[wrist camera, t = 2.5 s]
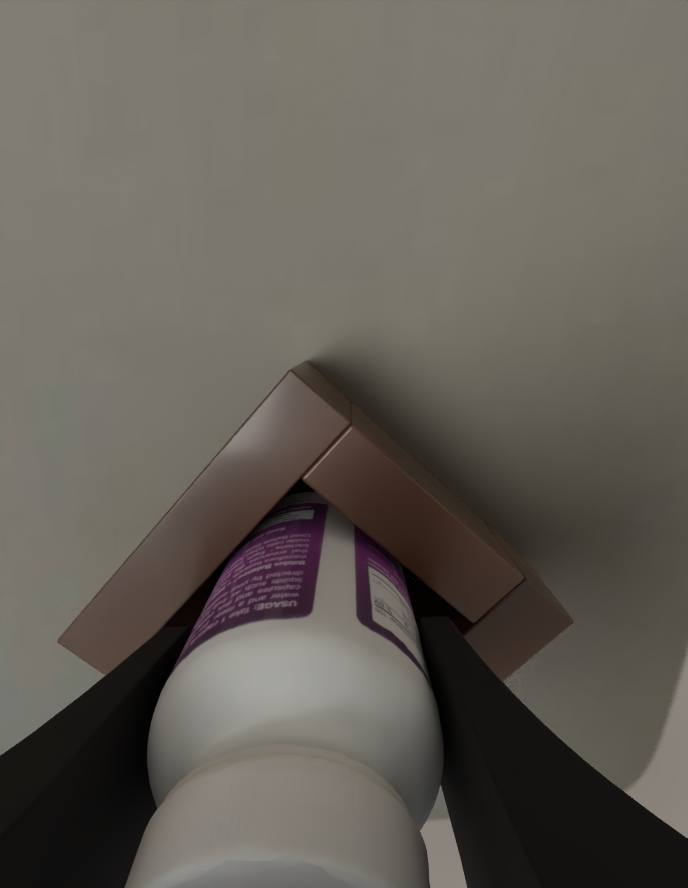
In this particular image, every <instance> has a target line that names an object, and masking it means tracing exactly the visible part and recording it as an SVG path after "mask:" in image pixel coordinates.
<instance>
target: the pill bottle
mask: <svg viewBox="0 0 688 888" xmlns="http://www.w3.org/2000/svg"><path fill="white" fill-rule="evenodd" d="M443 761H444V745H443V734H442V729H441V723H440V717H439V709H438V705H437V702H436V698H435V695H434V693H433V689H432V685H431V681H430V677H429V673H428V669H427V665H426V661H425V658H424V654H423V649H422V645H421V641H420V637H419V632H418V628H417V625H416V621H415V617H414V613H413V609H412V606H411V602H410V598H409V594H408V590H407V586H406V582H405V577H404V573H403V569H402V565H401V563H400V562H399V561H398V560H397V559H395V558H394V557H393V556H392V555H391V554H389V553H388V552H387V551H386V550H385V549H383V548H382V547H381V546H380V545H379V544H378V543H376V542H375V541H374V540H373V539H372V538H370V537H369V536H368V535H367V534H366V533H364V532H363V531H362V530H361V529H360V528H359V527H357V526H356V525H355V524H354V523H353V522H351V521H350V520H349V519H348V518H347V517H345V516H344V515H343V514H342V513H341V512H340V511H338V510H337V509H336V508H335V507H334V506H332V505H331V504H330V503H329V502H328V501H326V500H325V499H324V498H323V497H322V496H321V495H319V494H318V493H317V492H316V491H313V492H303V493H296V494H292V495H289V496H286V497H283V498H282V499H281V500H280V501H279V502H278V503H277V504H276V505H275V506H274V507H273V508H272V509H271V511H270V512H269V513H268V514H267V515H266V516H265V517H264V518H263V519H262V520H261V521H260V522H259V524H258V525H257V526H256V527H255V528H254V529H253V530H252V531H251V532H250V533H249V534H248V535H247V537H246V538H245V539H244V540H243V541H242V542H241V543H240V544H239V545H238V546H237V547H236V548H235V550H234V551H233V553H232V555H231V556H230V558H229V560H228V563H227V564H226V566H225V568H224V570H223V572H222V574H221V576H220V578H219V580H218V582H217V584H216V586H215V588H214V589H213V591H212V593H211V595H210V597H209V599H208V601H207V603H206V605H205V607H204V609H203V611H202V613H201V615H200V617H199V618H198V620H197V622H196V624H195V626H194V628H193V630H192V632H191V634H190V636H189V638H188V640H187V642H186V644H185V646H184V648H183V650H182V652H181V655H180V657H179V659H178V660H177V662H176V664H175V666H174V668H173V670H172V672H171V674H170V676H169V677H168V679H167V681H166V683H165V685H164V687H163V689H162V691H161V694H160V697H159V700H158V702H157V705H156V708H155V711H154V714H153V717H152V721H151V724H150V730H149V736H148V745H147V767H148V775H149V782H150V787H151V790H152V794H153V797H154V800H155V803H156V806H157V810H156V811H155V813H154V815H153V816H152V818H151V819H150V821H149V823H148V825H147V827H146V829H145V831H144V834H143V837H142V840H141V842H140V845H139V848H138V851H137V854H136V857H135V859H134V862H133V865H132V868H131V871H130V874H129V877H128V879H127V882H126V885H125V888H430V883H429V868H428V867H429V866H428V857H427V850H426V846H425V843H424V840H423V838H422V835H421V832H420V830H421V829H422V827H423V825H424V824H425V822H426V820H427V818H428V816H429V814H430V812H431V810H432V808H433V806H434V803H435V800H436V798H437V795H438V791H439V788H440V784H441V778H442V772H443Z"/></svg>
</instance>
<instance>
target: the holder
mask: <svg viewBox="0 0 688 888" xmlns="http://www.w3.org/2000/svg"><path fill="white" fill-rule="evenodd" d="M301 477H302V480H303V481H304V482H305V483H306V484H307V485H309V486H310V487H311V488H312V489H313V490H315V491H316V492H317V493H318V494H319V495H321V496H322V497H323V498H324V499H325V500H326V501H328V502H329V503H330V504H331V505H332V506H334V507H335V508H336V509H337V510H338V511H340V512H341V513H342V514H343V515H344V516H345V517H347V518H348V519H349V520H350V521H351V522H353V523H354V524H355V525H356V526H357V527H359V528H360V529H361V530H362V531H363V532H364V533H366V534H367V535H368V536H369V537H370V538H372V539H373V540H374V541H375V542H376V543H378V544H379V545H380V546H381V547H382V548H383V549H385V550H386V551H387V552H388V553H389V554H391V555H392V556H393V557H394V558H395V559H397V560H398V561H399V562H400V563H401V564H402V565H404V566H405V567H406V568H407V569H408V570H410V571H411V572H412V573H413V574H414V575H416V576H417V577H418V578H419V579H420V581H419V582H418V583H417V584H416V585H415V586H414V587H413V588H412V589H411V590H410V591H408V594H409V598H410V602H411V606H412V609H413V613H414V617H415V621H416V625H417V628H418V632H419V637H420V641H421V631H420V617H444V616H447V617H448V618H449V619H450V620H451V621H452V622H453V624H454V625H455V626H456V628H457V629H458V630H459V631H460V633H461V634H462V635H463V636H464V638H465V639H466V640H467V641H468V643H469V644H470V645H471V646H472V648H473V649H474V650H475V651H476V652H477V654H478V655H479V656H480V657H481V658H482V659H483V661H484V662H485V663H486V664H487V665H488V666H489V667H490V669H491V670H492V671H493V672H494V673H495V674H496V675H497V676H498V677H499V678H500V680H501V681H502V682H503V681H504V680H505V679H506V678H508V677H509V676H510V675H511V674H512V673H514V672H515V671H516V670H517V669H518V668H520V667H521V666H522V665H523V664H524V663H526V662H527V661H528V660H529V659H530V658H532V657H533V656H534V655H535V654H536V653H537V652H539V651H540V650H541V649H542V648H543V647H545V646H546V645H547V644H548V643H549V642H551V641H552V640H553V639H554V638H555V637H557V636H558V635H559V634H560V633H561V632H563V631H564V630H565V629H566V628H567V627H569V626H570V625H571V624H572V623H573V622H574V621H573V619H572V618H571V616H570V615H569V614H568V613H567V611H566V610H565V609H564V608H563V606H562V605H561V604H560V602H559V601H558V600H557V599H556V597H555V596H554V595H553V594H552V592H551V591H550V590H549V589H548V587H547V586H546V585H545V584H544V582H543V581H542V580H541V579H540V577H539V576H538V575H537V574H536V572H535V571H534V570H533V569H532V567H531V566H530V565H529V564H528V562H527V561H526V560H525V559H524V557H523V556H522V555H521V554H520V553H519V552H518V551H517V550H516V549H515V548H514V547H513V546H512V545H510V544H509V543H508V542H507V541H506V540H505V539H504V538H503V537H502V536H500V535H499V534H498V533H497V532H496V531H495V530H494V529H493V528H492V527H490V526H489V525H488V524H487V523H486V522H484V521H483V520H482V519H481V518H480V517H479V516H478V515H477V514H476V513H475V512H474V511H473V510H471V509H470V508H469V507H468V506H467V505H466V504H465V503H464V502H463V501H461V500H460V499H459V498H458V497H457V496H456V495H455V494H454V493H453V492H451V491H450V490H449V489H448V488H447V487H446V486H445V485H444V484H443V483H441V482H440V481H439V480H438V479H437V478H436V477H435V476H434V475H433V474H431V473H430V472H429V471H428V470H427V469H426V468H425V467H424V466H423V465H421V464H420V463H419V462H418V461H417V460H416V459H415V458H414V457H413V456H411V455H410V454H409V453H408V452H407V451H406V450H405V449H404V448H403V447H401V446H400V445H399V444H398V443H397V442H396V441H395V440H394V439H393V438H391V437H390V436H389V435H388V434H387V433H386V432H385V431H384V430H383V429H381V428H380V427H379V426H378V425H377V424H376V423H375V422H374V421H373V420H371V419H370V418H369V417H368V416H367V415H366V414H365V413H364V412H363V411H361V410H360V409H359V408H358V407H357V406H356V405H355V404H354V403H352V402H351V403H350V400H349V399H348V398H347V397H346V396H345V395H344V394H343V393H342V392H341V391H339V390H338V389H337V388H336V387H335V386H334V385H333V384H332V383H331V382H329V381H328V380H327V379H326V378H325V377H324V376H323V375H322V374H321V373H319V372H318V371H317V370H316V369H315V368H314V367H313V366H312V365H311V364H309V363H308V362H307V361H305V362H303V363H301V364H299V365H298V366H296V367H294V368H292V369H290V370H289V371H288V372H287V373H286V375H285V376H284V377H283V378H282V379H281V380H280V381H279V383H278V384H277V385H276V386H275V387H274V388H273V390H272V391H271V392H270V393H269V394H268V395H267V397H266V398H265V399H264V400H263V401H262V402H261V404H260V405H259V406H258V407H257V408H256V409H255V411H254V412H253V413H252V414H251V415H250V416H249V418H248V419H247V420H246V421H245V422H244V423H243V425H242V426H241V427H240V428H239V429H238V430H237V432H236V433H235V434H234V435H233V436H232V437H231V439H230V440H229V441H228V442H227V443H226V444H225V446H224V447H223V448H222V449H221V450H220V451H219V452H218V454H217V455H216V456H215V457H214V458H213V459H212V461H211V462H210V463H209V464H208V465H207V466H206V468H205V469H204V470H203V471H202V472H201V473H200V475H199V476H198V477H197V478H196V479H195V480H194V482H193V483H192V484H191V485H190V486H189V487H188V489H187V490H186V491H185V492H184V493H183V494H182V496H181V497H180V498H179V499H178V500H177V501H176V503H175V504H174V505H173V506H172V507H171V508H170V510H169V511H168V512H167V513H166V514H165V515H164V517H163V518H162V519H161V520H160V521H159V522H158V523H157V525H156V526H155V527H154V528H153V529H152V530H151V532H150V533H149V534H148V535H147V536H146V537H145V539H144V540H143V541H142V542H141V543H140V544H139V546H138V547H137V548H136V549H135V550H134V551H133V553H132V554H131V555H130V556H129V557H128V558H127V560H126V561H125V562H124V563H123V564H122V565H121V567H120V568H119V569H118V570H117V571H116V572H115V574H114V575H113V576H112V577H111V578H110V579H109V581H108V582H107V583H106V584H105V585H104V586H103V587H102V589H101V590H100V591H99V592H98V593H97V594H96V596H95V597H94V598H93V599H92V600H91V601H90V603H89V604H88V605H87V606H86V607H85V608H84V610H83V611H82V612H81V613H80V614H79V615H78V617H77V618H76V619H75V620H74V621H73V622H72V624H71V625H70V626H69V627H68V628H67V629H66V631H65V632H64V633H63V634H62V635H61V636H60V638H59V639H58V641H57V642H58V643H59V644H61V645H62V646H63V647H65V648H66V649H68V650H69V651H71V652H72V653H74V654H75V655H77V656H78V657H79V658H81V659H82V660H84V661H85V662H87V663H88V664H90V665H91V666H93V667H94V668H96V669H97V670H98V671H100V672H101V673H103V674H104V675H107V674H108V673H109V672H111V671H112V670H113V669H114V668H115V667H117V666H118V665H119V664H120V663H121V662H123V661H124V660H125V659H126V658H127V657H129V656H130V655H131V654H132V653H133V652H135V651H136V650H137V649H138V648H139V647H141V646H142V645H143V644H144V643H145V642H147V641H148V640H149V639H150V638H151V637H153V636H154V635H155V634H156V633H158V632H159V631H160V630H162V629H163V628H164V627H187V626H190V630H191V632H192V630H193V628H194V626H195V624H196V622H197V620H198V618H199V617H200V615H201V613H202V611H203V609H204V607H205V605H206V603H207V601H208V599H209V597H210V595H211V593H212V591H213V589H214V588H215V586H216V584H217V582H215V581H214V580H213V579H211V578H210V576H211V574H212V573H213V572H214V571H215V570H216V569H217V568H218V567H219V566H220V565H221V564H222V563H223V561H224V560H225V559H226V558H227V557H228V556H229V555H230V554H231V553H232V552H233V551H234V550H235V548H236V547H237V546H238V545H239V544H240V543H241V542H242V541H243V540H244V539H245V538H246V537H247V535H248V534H249V533H250V532H251V531H252V530H253V529H254V528H255V527H256V526H257V525H258V524H259V522H260V521H261V520H262V519H263V518H264V517H265V516H266V515H267V514H268V513H269V512H270V511H271V509H272V508H273V507H274V506H275V505H276V504H277V503H278V502H279V501H280V500H281V499H282V498H283V496H284V495H285V494H286V493H287V492H288V491H289V490H290V489H291V488H292V487H293V486H294V485H295V483H296V482H297V481H298V480H299V479H300V478H301Z"/></svg>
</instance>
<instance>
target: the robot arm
mask: <svg viewBox="0 0 688 888" xmlns="http://www.w3.org/2000/svg"><path fill="white" fill-rule="evenodd" d="M420 631H421V645H422V649H423V654H424V658H425V661H426V665H427V669H428V673H429V677H430V681H431V685H432V689H433V693H434V695H435V698H436V702H437V705H438V709H439V717H440V723H441V729H442V734H443V745H444V761H443V772H442V778H441V786H442V790H443V794H444V798H445V801H446V805H447V809H448V813H449V817H450V820H451V824H452V828H453V832H454V835H455V839H456V843H457V847H458V850H459V854H460V857H461V862H462V866H463V871H464V875H465V879H466V884H467V888H688V838H686V837H684V836H683V835H682V834H680V833H679V832H678V831H676V830H675V829H673V828H672V827H671V826H669V825H668V824H666V823H665V822H663V821H662V820H661V819H659V818H658V817H657V816H655V815H654V814H653V813H651V812H650V811H649V810H647V809H646V808H645V807H643V806H642V805H641V804H639V803H638V802H637V801H635V800H634V799H633V798H631V797H630V796H628V794H626V793H625V792H624V791H622V790H621V789H620V788H618V787H617V786H616V785H614V784H613V783H612V782H610V781H609V780H608V779H607V778H605V777H604V776H603V775H602V774H600V773H599V772H598V771H597V770H595V769H594V768H593V767H592V766H590V765H589V764H588V763H587V762H586V761H585V760H583V759H582V758H581V757H580V756H579V755H578V754H576V753H575V752H574V751H573V750H572V749H571V748H570V747H568V746H567V745H566V744H565V743H564V742H563V741H562V740H561V739H559V738H558V737H557V736H556V735H555V734H554V733H553V732H552V731H551V730H550V729H549V728H548V727H547V726H545V725H544V724H543V723H542V722H541V721H540V720H539V719H538V718H537V717H536V716H535V715H534V714H533V713H532V712H531V711H530V710H529V709H528V708H527V707H526V706H525V705H524V704H523V703H522V702H521V701H520V700H519V699H518V698H517V697H516V696H515V695H514V694H513V693H512V692H511V690H510V689H509V688H508V687H507V686H506V685H505V684H504V683H503V682H502V681H501V680H500V678H499V677H498V676H497V675H496V674H495V673H494V672H493V671H492V670H491V669H490V667H489V666H488V665H487V664H486V663H485V662H484V661H483V659H482V658H481V657H480V656H479V655H478V654H477V652H476V651H475V650H474V649H473V648H472V646H471V645H470V644H469V643H468V641H467V640H466V639H465V638H464V636H463V635H462V634H461V633H460V631H459V630H458V629H457V628H456V626H455V625H454V624H453V622H452V621H451V620H450V619H449V618H448V617H447V616H444V617H420ZM190 634H191V630H190V626H187V627H164V628H163V629H162V630H160V631H159V632H158V633H156V634H155V635H154V636H153V637H151V638H150V639H149V640H148V641H147V642H145V643H144V644H143V645H142V646H141V647H139V648H138V649H137V650H136V651H135V652H133V653H132V654H131V655H130V656H129V657H127V658H126V659H125V660H124V661H123V662H121V663H120V664H119V665H118V666H117V667H115V668H114V669H113V670H112V671H111V672H109V673H108V674H107V675H106V676H105V677H103V678H102V679H101V680H100V681H98V682H97V683H96V684H95V685H94V686H92V687H91V688H90V689H89V690H88V691H86V692H85V693H84V694H83V695H81V696H80V697H79V698H77V699H76V700H75V701H73V702H72V703H71V704H70V705H68V706H67V707H66V708H64V709H63V710H62V711H60V712H59V713H58V714H57V715H55V716H54V717H53V718H51V719H50V720H49V721H47V722H46V723H45V724H44V725H42V726H41V727H40V728H38V729H37V730H36V731H34V732H33V733H32V734H30V735H29V736H28V737H26V738H25V739H23V740H22V741H21V742H19V743H18V744H16V745H15V746H14V747H12V748H11V749H9V750H8V751H6V752H5V753H4V754H2V755H1V756H0V888H125V885H126V882H127V879H128V877H129V874H130V871H131V868H132V865H133V862H134V859H135V857H136V854H137V851H138V848H139V845H140V842H141V840H142V837H143V834H144V831H145V829H146V827H147V825H148V823H149V821H150V819H151V818H152V816H153V815H154V813H155V811H156V810H157V806H156V803H155V800H154V797H153V794H152V790H151V787H150V782H149V775H148V767H147V745H148V736H149V730H150V724H151V721H152V717H153V714H154V711H155V708H156V705H157V702H158V700H159V697H160V694H161V691H162V689H163V687H164V685H165V683H166V681H167V679H168V677H169V676H170V674H171V672H172V670H173V668H174V666H175V664H176V662H177V660H178V659H179V657H180V655H181V652H182V650H183V648H184V646H185V644H186V642H187V640H188V638H189V636H190Z"/></svg>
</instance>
